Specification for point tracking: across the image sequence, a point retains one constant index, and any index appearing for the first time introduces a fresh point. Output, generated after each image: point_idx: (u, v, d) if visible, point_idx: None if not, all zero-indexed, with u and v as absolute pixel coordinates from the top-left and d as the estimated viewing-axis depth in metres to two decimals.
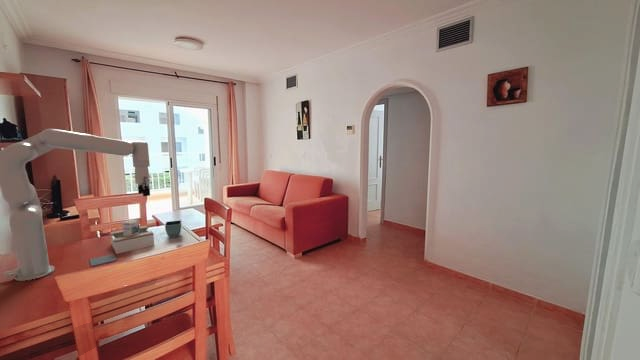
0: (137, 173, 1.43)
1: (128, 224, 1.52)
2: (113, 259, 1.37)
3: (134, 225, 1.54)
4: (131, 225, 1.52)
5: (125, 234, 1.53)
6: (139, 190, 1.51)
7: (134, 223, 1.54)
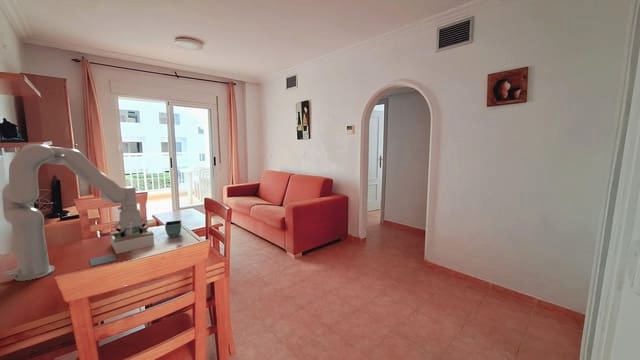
0: (135, 216, 1.54)
1: None
2: (113, 259, 1.37)
3: None
4: (131, 225, 1.52)
5: (125, 234, 1.53)
6: None
7: None
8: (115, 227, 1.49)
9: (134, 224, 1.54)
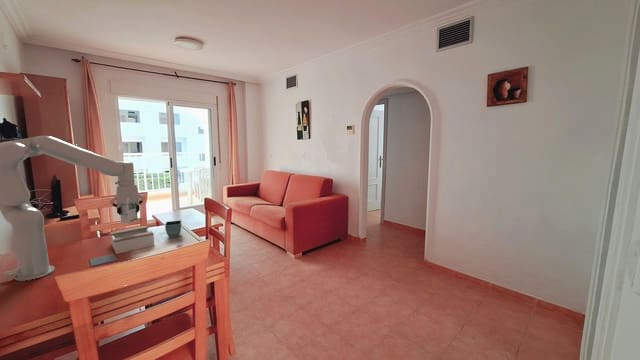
0: (133, 191, 1.51)
1: None
2: (113, 259, 1.37)
3: None
4: (128, 201, 1.50)
5: (122, 210, 1.51)
6: (120, 211, 1.50)
7: None
8: (112, 202, 1.47)
9: (131, 200, 1.51)
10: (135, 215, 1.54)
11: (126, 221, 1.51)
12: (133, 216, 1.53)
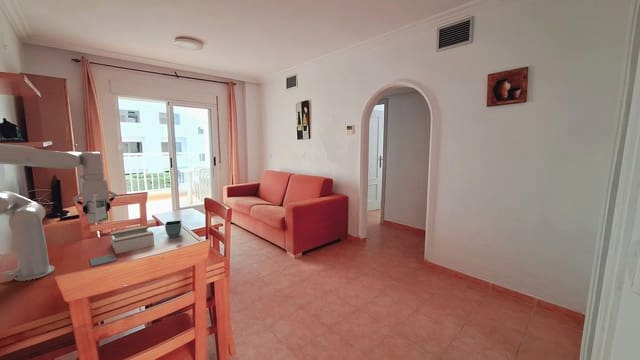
0: (101, 187, 1.31)
1: (92, 196, 1.28)
2: (113, 259, 1.37)
3: None
4: (95, 197, 1.29)
5: (88, 208, 1.30)
6: (86, 210, 1.29)
7: None
8: (76, 199, 1.26)
9: (99, 197, 1.30)
10: (105, 214, 1.34)
11: (94, 221, 1.30)
12: (103, 215, 1.33)
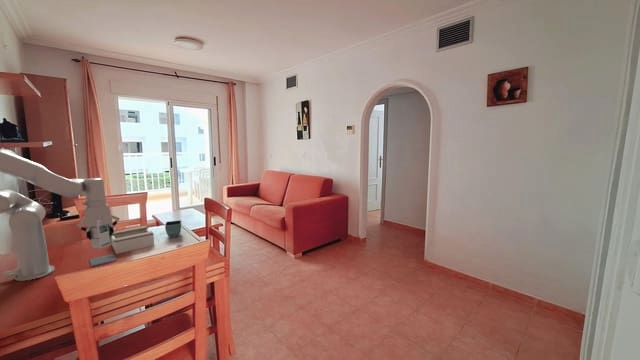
0: (104, 212, 1.32)
1: None
2: (113, 259, 1.37)
3: None
4: (99, 223, 1.31)
5: (92, 234, 1.32)
6: (90, 235, 1.31)
7: None
8: (79, 226, 1.28)
9: (102, 222, 1.32)
10: (108, 238, 1.36)
11: (98, 246, 1.32)
12: (106, 240, 1.35)
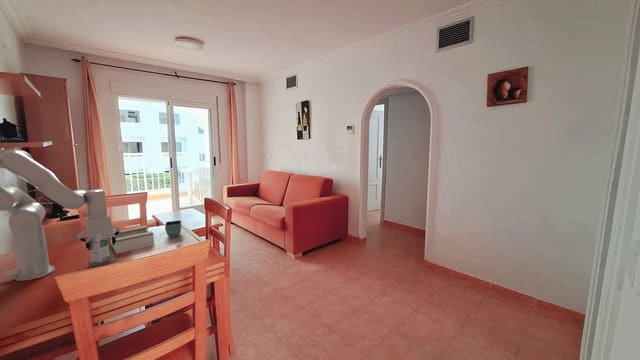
0: (105, 223, 1.33)
1: None
2: (113, 259, 1.37)
3: (103, 237, 1.34)
4: (99, 237, 1.32)
5: (92, 248, 1.33)
6: (89, 246, 1.31)
7: None
8: (79, 236, 1.29)
9: (103, 233, 1.33)
10: (108, 252, 1.36)
11: (98, 260, 1.33)
12: (106, 254, 1.35)
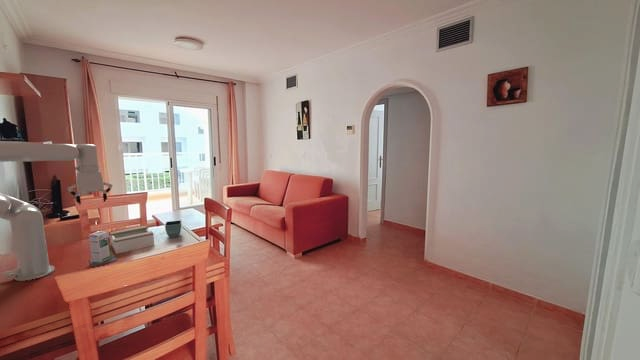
0: (95, 178, 1.33)
1: (95, 236, 1.31)
2: (113, 259, 1.37)
3: (103, 237, 1.34)
4: (99, 237, 1.32)
5: (92, 248, 1.33)
6: (80, 200, 1.31)
7: (103, 235, 1.33)
8: (70, 189, 1.29)
9: (94, 188, 1.33)
10: (108, 252, 1.36)
11: (98, 260, 1.33)
12: (106, 254, 1.35)
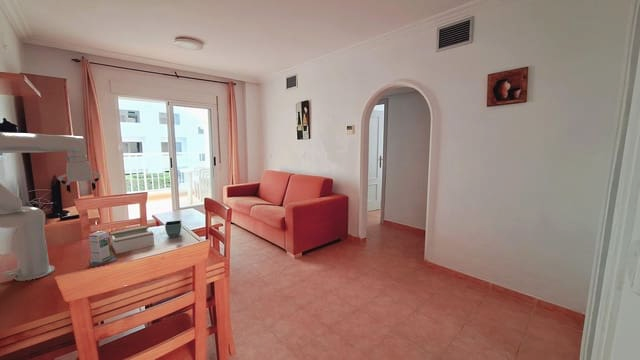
0: (85, 168, 1.43)
1: (95, 236, 1.31)
2: (113, 259, 1.37)
3: (103, 237, 1.34)
4: (99, 237, 1.32)
5: (92, 248, 1.33)
6: None
7: (103, 235, 1.33)
8: (60, 178, 1.38)
9: (83, 177, 1.43)
10: (108, 252, 1.36)
11: (98, 260, 1.33)
12: (106, 254, 1.35)
